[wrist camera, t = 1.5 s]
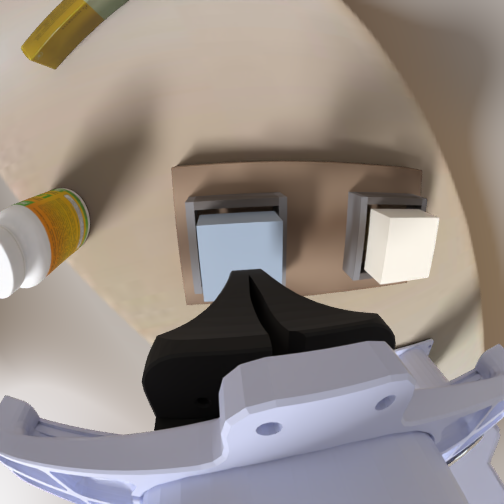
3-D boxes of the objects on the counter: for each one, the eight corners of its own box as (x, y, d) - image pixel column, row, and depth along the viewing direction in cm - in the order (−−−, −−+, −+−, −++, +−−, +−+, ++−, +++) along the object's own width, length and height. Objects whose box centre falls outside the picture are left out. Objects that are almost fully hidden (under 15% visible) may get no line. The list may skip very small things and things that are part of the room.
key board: (395, 273, 24) (419, 292, 20) (188, 292, 22) (184, 319, 18) (408, 167, 20) (437, 173, 17) (176, 166, 19) (165, 170, 15)
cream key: (410, 264, 19) (428, 277, 17) (364, 269, 19) (380, 284, 16) (418, 209, 18) (439, 217, 15) (370, 208, 17) (390, 217, 15)
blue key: (273, 277, 18) (281, 296, 16) (205, 282, 18) (204, 301, 15) (274, 210, 16) (282, 220, 14) (199, 214, 16) (196, 225, 14)
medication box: (148, -35, 12) (138, -59, 8) (166, -24, 12) (157, -49, 9) (43, 58, 13) (17, 48, 10) (55, 72, 14) (28, 63, 10)
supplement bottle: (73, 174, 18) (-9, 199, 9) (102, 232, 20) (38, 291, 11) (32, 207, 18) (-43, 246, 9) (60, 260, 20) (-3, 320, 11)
